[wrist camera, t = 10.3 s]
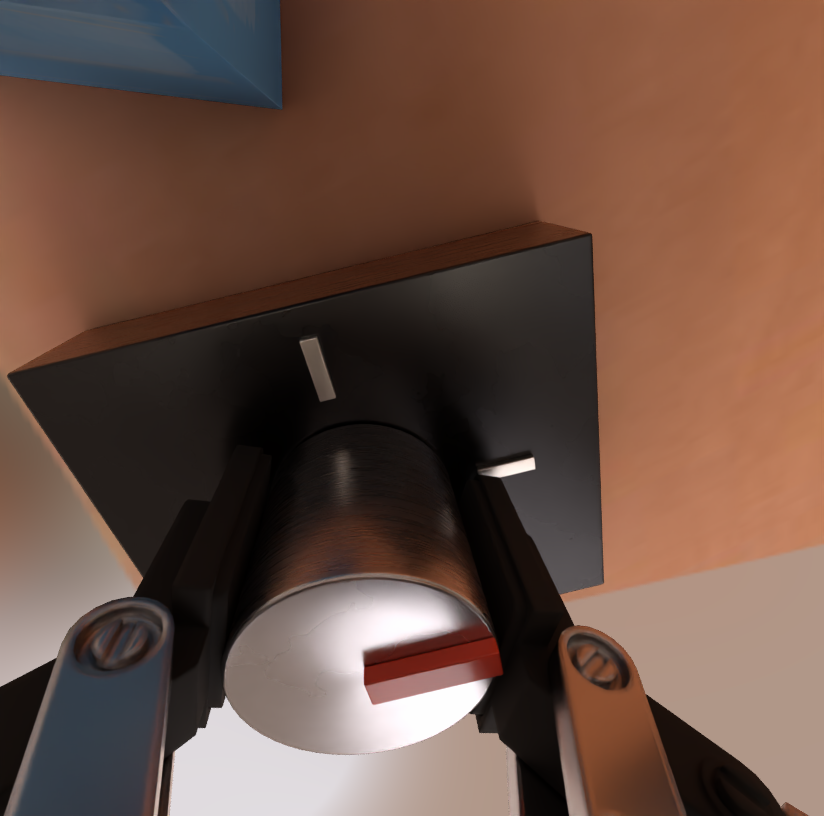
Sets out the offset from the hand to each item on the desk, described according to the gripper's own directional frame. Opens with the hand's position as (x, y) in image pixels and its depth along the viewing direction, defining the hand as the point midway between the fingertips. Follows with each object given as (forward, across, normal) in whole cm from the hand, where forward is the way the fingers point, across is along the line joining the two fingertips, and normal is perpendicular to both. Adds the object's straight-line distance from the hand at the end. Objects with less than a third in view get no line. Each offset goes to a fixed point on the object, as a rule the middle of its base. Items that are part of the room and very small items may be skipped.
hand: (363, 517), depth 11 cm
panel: (+4, 0, 0) cm, 4 cm away
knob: (+1, 0, 0) cm, 1 cm away
